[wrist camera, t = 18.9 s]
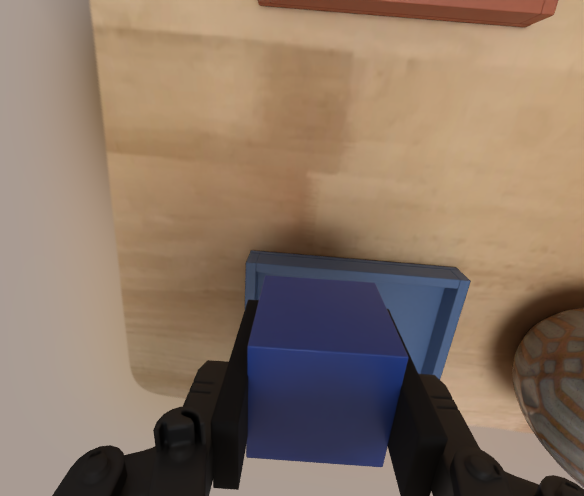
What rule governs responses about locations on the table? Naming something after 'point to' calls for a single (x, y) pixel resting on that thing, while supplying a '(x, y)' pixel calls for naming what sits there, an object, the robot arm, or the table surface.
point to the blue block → (322, 372)
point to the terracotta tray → (436, 9)
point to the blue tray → (384, 295)
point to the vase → (554, 387)
